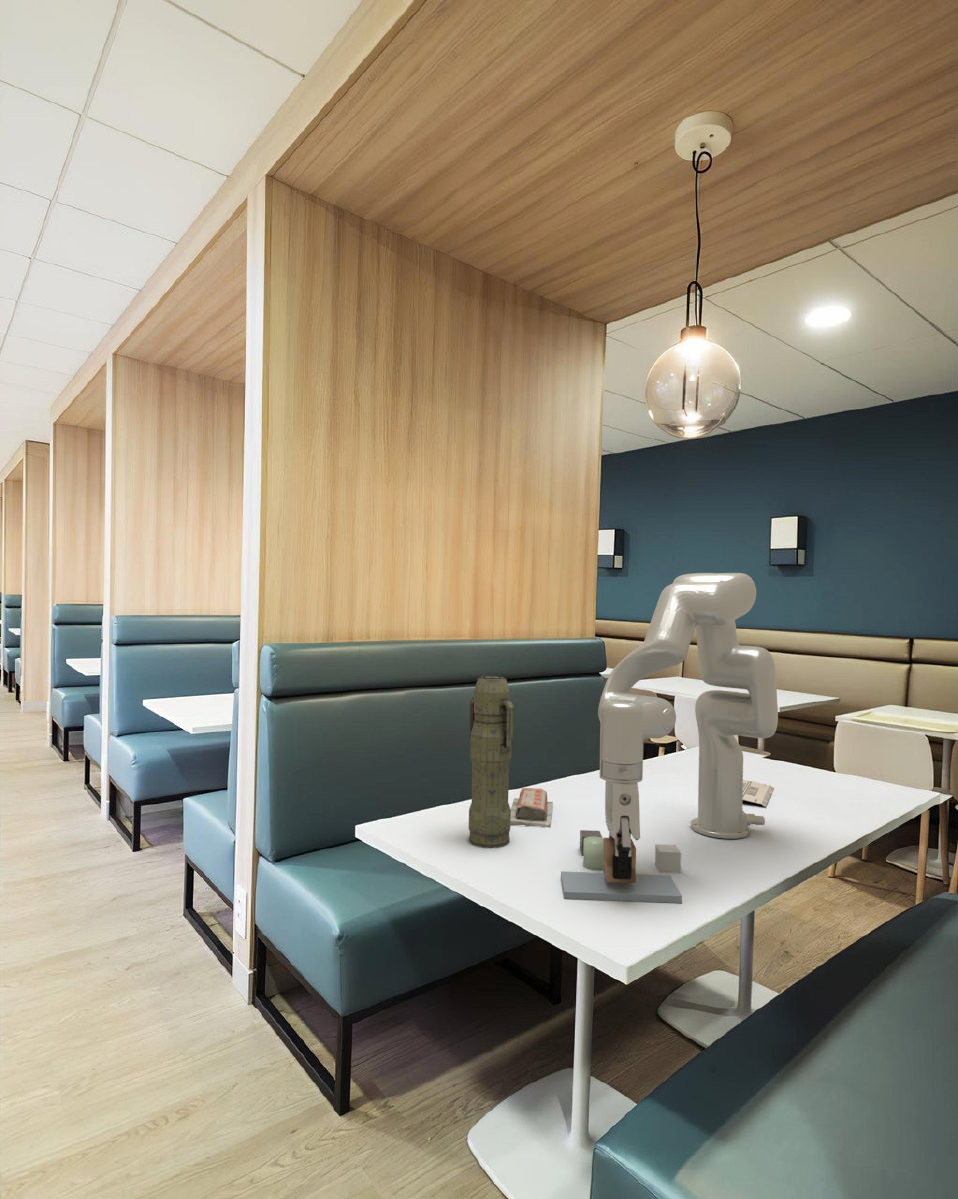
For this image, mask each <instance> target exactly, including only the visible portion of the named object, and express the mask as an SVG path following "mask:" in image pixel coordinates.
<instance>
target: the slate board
mask: <svg viewBox="0 0 958 1199" xmlns="http://www.w3.org/2000/svg"><path fill="white" fill-rule="evenodd" d="M560 882H561V887H562V892H563V897H564V900H585V901H586V900H587V901H609V902H610V901H612V902H613V901H616V902H642V903H663V904H664V903H665V904H683V895H682V894H681V892H680V891H679V890H680V889H679V888H678V887H677V884H676V883H675V882H674V879H673V878H672V876H671V875H669V874H667V875H666V874H642V873H641V874H640V873H639V874H637V873H636V883H628V882H607V881H606V878H605V875H604V872H591V871H590V872H589V871H587V872H586V871H585V872H584V871H566V870H564V871H560Z"/></svg>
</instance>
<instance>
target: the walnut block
mask: <svg viewBox="0 0 958 1199" xmlns="http://www.w3.org/2000/svg"><path fill="white" fill-rule="evenodd" d="M603 838H604V843H603V870H602V873H604V875H605V878H606V881H607V882H628V883H636V874H637V847H636V845H635V844H634V841H633V839H632V838H631V856H632V871H631V879H614V878H613V876H612V871H613V855H615V853H614V839H613V838H609V837H603ZM621 842H622V841H618V846H619V844H621Z"/></svg>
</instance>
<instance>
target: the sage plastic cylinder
mask: <svg viewBox="0 0 958 1199" xmlns="http://www.w3.org/2000/svg"><path fill="white" fill-rule="evenodd" d="M604 838H605V837H602V838H601V837H594V836H592V837H586V838H584V851H583V856H582V857H583V858H582V859H583V861H582V864H583V865H582V866H583V867H584V869H587V870H590V871H603V843H604Z"/></svg>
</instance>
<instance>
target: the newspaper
mask: <svg viewBox="0 0 958 1199" xmlns="http://www.w3.org/2000/svg"><path fill="white" fill-rule="evenodd" d="M774 790H775V787H774V786H772V785H771V784H770V785H769V784H765V783H760V782H757V781H751V780H745V779H743V801H746V802H750V803H754V804H758V805H761V806H763V808H764V809H766V808H767V806H768V804H769V802H770V799H771V796H772V795H773V793H774ZM743 801H742V805H743V804H744V802H743Z"/></svg>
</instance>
